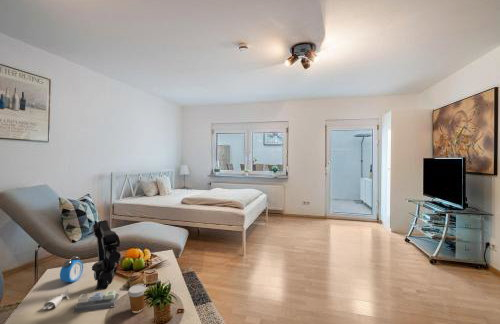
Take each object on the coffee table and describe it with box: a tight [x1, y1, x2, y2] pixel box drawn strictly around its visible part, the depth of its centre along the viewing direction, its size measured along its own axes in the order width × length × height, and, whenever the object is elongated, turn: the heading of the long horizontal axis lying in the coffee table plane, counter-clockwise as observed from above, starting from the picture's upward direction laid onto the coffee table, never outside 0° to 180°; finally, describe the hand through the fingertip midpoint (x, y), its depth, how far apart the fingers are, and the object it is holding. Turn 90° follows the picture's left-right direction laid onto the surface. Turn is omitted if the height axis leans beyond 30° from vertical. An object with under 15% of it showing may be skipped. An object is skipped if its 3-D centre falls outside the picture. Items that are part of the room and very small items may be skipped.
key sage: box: [104, 290, 117, 300], centre depth 139 cm, size 4×4×2 cm
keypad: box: [73, 293, 120, 313], centre depth 138 cm, size 11×19×2 cm, turn 106°
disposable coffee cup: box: [127, 284, 148, 311], centre depth 133 cm, size 10×10×12 cm
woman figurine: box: [42, 289, 71, 310], centre depth 138 cm, size 12×4×18 cm
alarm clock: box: [59, 255, 84, 284], centre depth 160 cm, size 13×6×15 cm, turn 178°
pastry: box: [125, 272, 144, 289], centre depth 158 cm, size 13×15×8 cm
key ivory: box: [77, 292, 91, 303], centre depth 136 cm, size 4×4×2 cm
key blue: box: [91, 291, 104, 301], centre depth 137 cm, size 4×4×2 cm
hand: (110, 283), depth 139 cm, fingers closed
